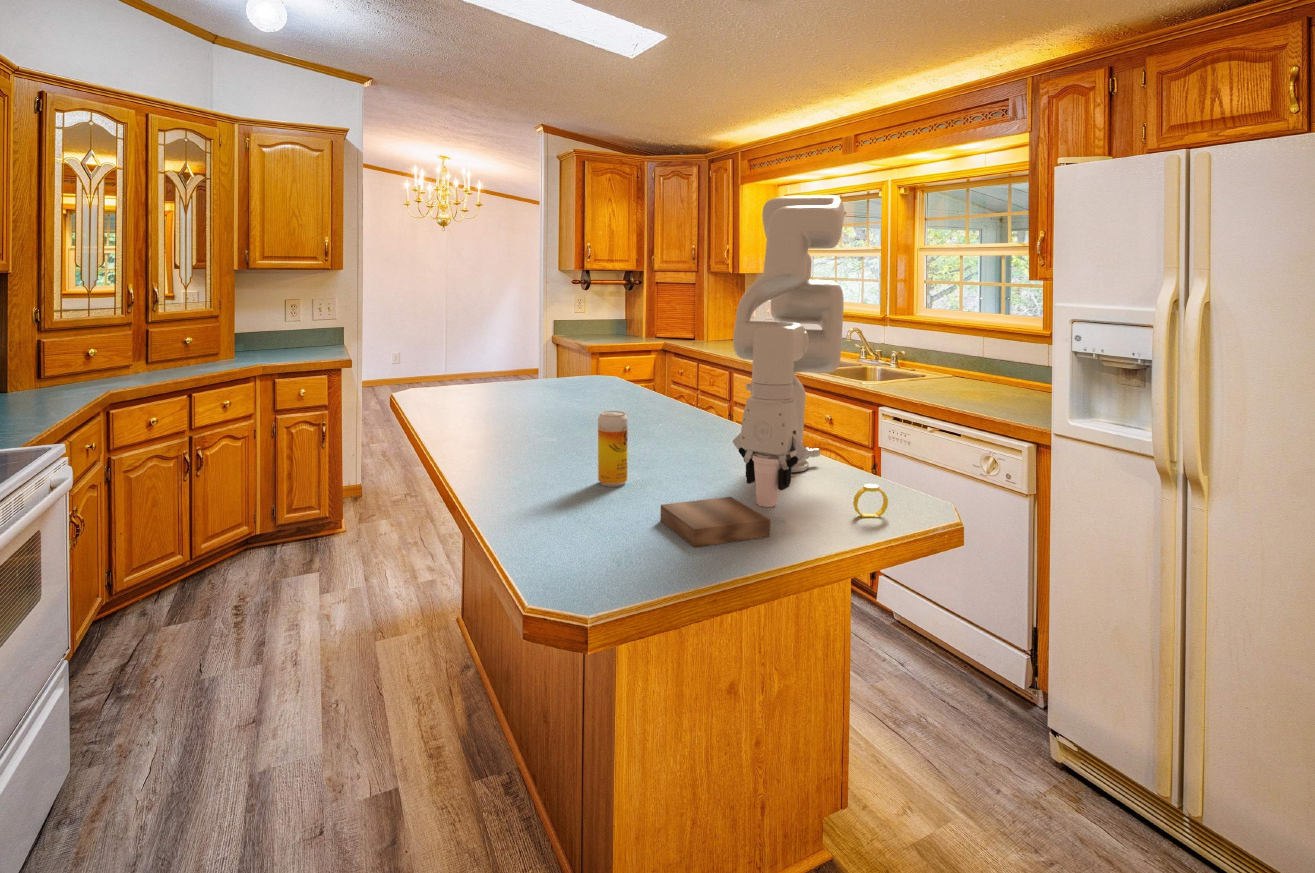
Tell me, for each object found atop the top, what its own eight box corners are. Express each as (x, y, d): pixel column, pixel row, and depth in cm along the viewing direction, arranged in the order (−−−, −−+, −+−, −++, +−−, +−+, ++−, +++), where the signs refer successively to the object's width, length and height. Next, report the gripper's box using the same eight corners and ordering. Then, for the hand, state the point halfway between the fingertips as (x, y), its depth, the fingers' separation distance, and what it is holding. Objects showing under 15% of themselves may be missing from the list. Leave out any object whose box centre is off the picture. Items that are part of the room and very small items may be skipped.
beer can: (623, 488, 150) (623, 416, 146) (594, 486, 151) (594, 415, 148) (630, 480, 155) (630, 411, 152) (602, 478, 157) (602, 410, 153)
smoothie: (746, 499, 143) (750, 429, 140) (778, 499, 143) (782, 429, 140) (753, 509, 137) (757, 436, 134) (787, 509, 137) (791, 436, 134)
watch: (856, 520, 132) (856, 489, 131) (851, 515, 135) (851, 484, 134) (889, 518, 132) (889, 486, 131) (883, 513, 135) (883, 482, 134)
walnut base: (730, 512, 135) (730, 496, 134) (769, 536, 122) (770, 519, 122) (660, 520, 130) (660, 504, 129) (694, 547, 117) (694, 529, 116)
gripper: (721, 389, 138) (718, 481, 141) (805, 399, 127) (799, 498, 131) (742, 385, 143) (738, 473, 147) (823, 394, 133) (817, 489, 137)
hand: (767, 484), depth 139 cm, fingers closed on smoothie, 6 cm apart
